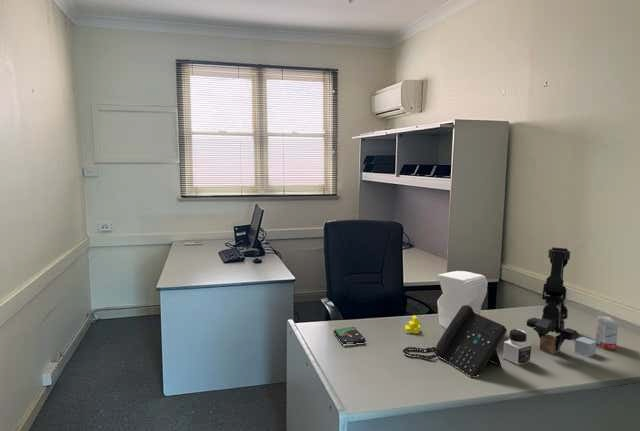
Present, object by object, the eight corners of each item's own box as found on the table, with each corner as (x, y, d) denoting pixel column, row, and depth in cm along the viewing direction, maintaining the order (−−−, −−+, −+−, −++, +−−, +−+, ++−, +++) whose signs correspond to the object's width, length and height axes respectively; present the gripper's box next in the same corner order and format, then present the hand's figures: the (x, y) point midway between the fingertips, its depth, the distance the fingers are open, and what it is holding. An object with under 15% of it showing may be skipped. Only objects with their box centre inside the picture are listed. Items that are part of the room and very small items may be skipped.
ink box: (616, 350, 180) (619, 323, 179) (603, 349, 181) (605, 322, 180) (607, 342, 188) (609, 316, 187) (594, 341, 189) (597, 315, 188)
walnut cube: (539, 349, 181) (540, 337, 180) (547, 346, 184) (547, 334, 183) (552, 354, 176) (553, 341, 175) (559, 351, 179) (560, 338, 178)
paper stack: (427, 324, 208) (429, 272, 205) (468, 315, 221) (470, 266, 218) (461, 340, 190) (463, 283, 187) (502, 329, 202) (505, 276, 199)
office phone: (399, 352, 178) (400, 304, 176) (453, 341, 190) (455, 296, 187) (446, 385, 152) (449, 330, 149) (506, 370, 163) (509, 318, 161)
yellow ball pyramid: (401, 330, 200) (402, 314, 199) (415, 328, 204) (416, 312, 203) (409, 335, 195) (409, 318, 194) (423, 332, 198) (424, 316, 198)
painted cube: (574, 352, 178) (575, 339, 178) (581, 349, 181) (582, 336, 181) (588, 357, 174) (589, 344, 173) (595, 354, 177) (596, 341, 176)
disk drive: (366, 345, 185) (354, 332, 199) (366, 339, 185) (354, 326, 199) (343, 348, 183) (332, 334, 197) (343, 341, 182) (333, 328, 196)
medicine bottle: (518, 365, 166) (520, 335, 165) (502, 358, 172) (504, 329, 171) (530, 361, 169) (532, 332, 168) (514, 354, 176) (516, 326, 174)
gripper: (519, 308, 181) (517, 344, 183) (564, 322, 166) (561, 361, 168) (535, 304, 187) (532, 338, 189) (580, 317, 172) (577, 354, 173)
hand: (549, 348), depth 180 cm, fingers closed on walnut cube, 5 cm apart
